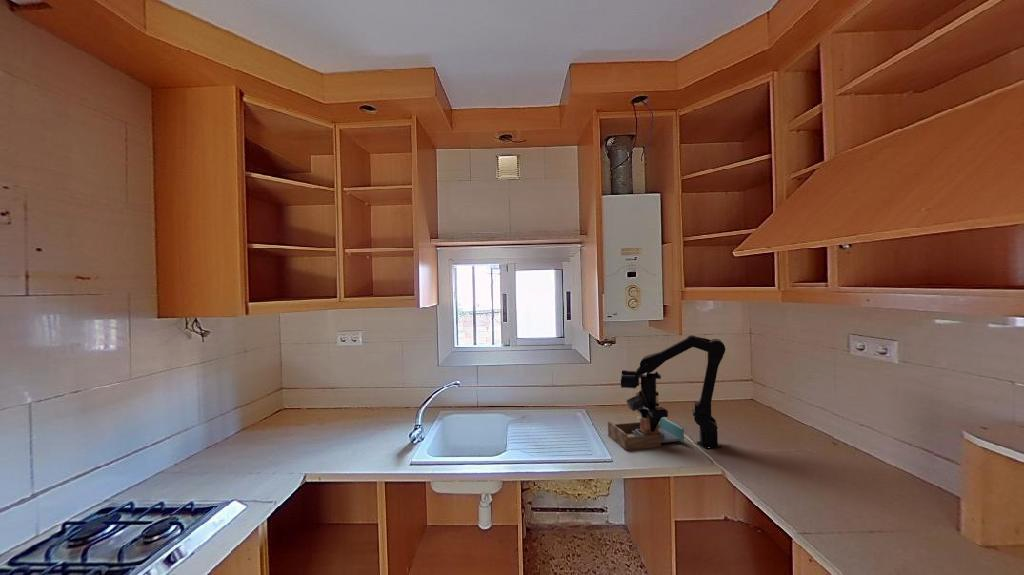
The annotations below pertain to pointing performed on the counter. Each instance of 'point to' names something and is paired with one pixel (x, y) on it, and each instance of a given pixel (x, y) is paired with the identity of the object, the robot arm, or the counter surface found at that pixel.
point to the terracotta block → (647, 426)
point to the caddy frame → (632, 436)
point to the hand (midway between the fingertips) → (649, 429)
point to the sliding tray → (666, 431)
